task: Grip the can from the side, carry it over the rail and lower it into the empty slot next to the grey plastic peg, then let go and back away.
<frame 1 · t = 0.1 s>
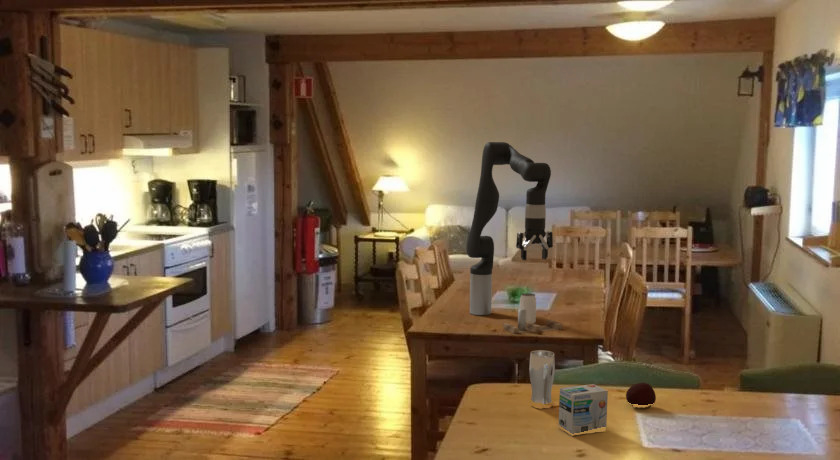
hand: (534, 259, 315), 29 cm above the table, tool pointing down, fingers open, 8 cm apart
rail: (532, 331, 326), on the table
light bulb box: (582, 431, 215), on the table
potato: (640, 408, 233), on the table
grey peg: (521, 329, 324), point 1 cm above the table, touching rail
beer glass: (541, 406, 234), on the table
can: (527, 324, 339), on the table
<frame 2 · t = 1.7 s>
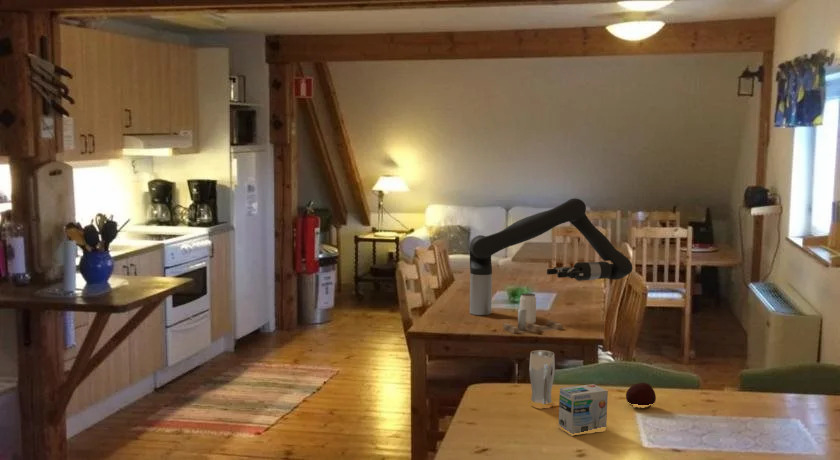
hand: (552, 273, 341), 20 cm above the table, tool horizontal, fingers open, 8 cm apart
nothing on the table moved.
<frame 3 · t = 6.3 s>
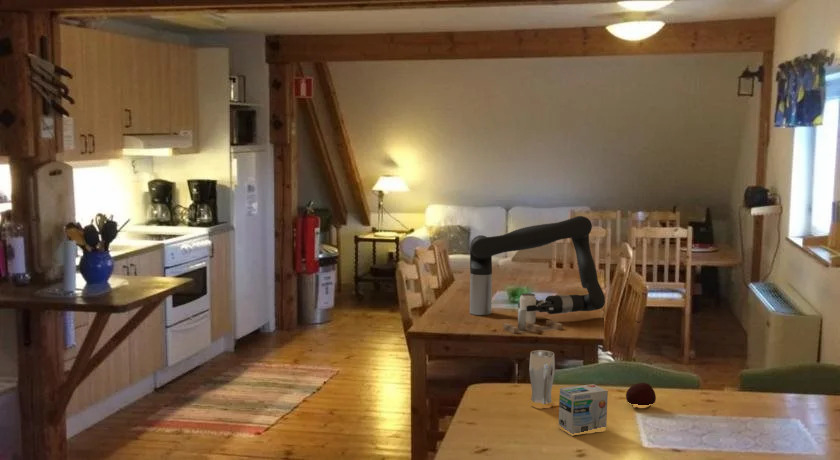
hand: (522, 307, 338), 7 cm above the table, tool horizontal, fingers closed on can, 6 cm apart
can: (527, 324, 339), on the table, touching gripper
everything else where it was.
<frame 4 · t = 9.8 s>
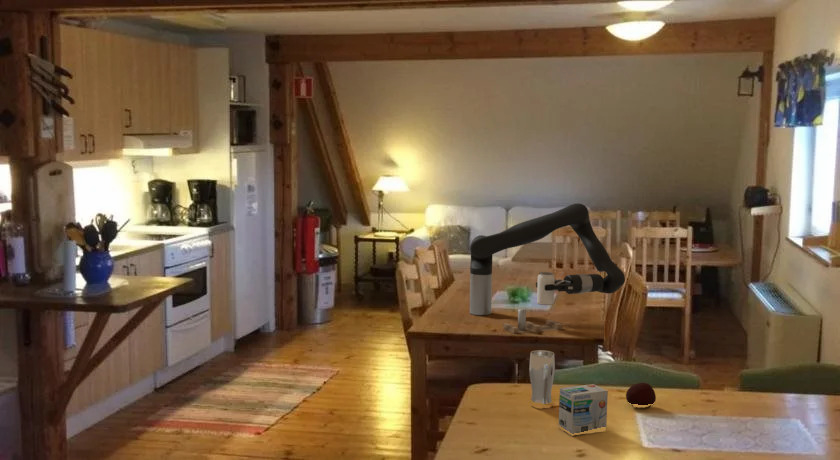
hand: (540, 286, 325), 18 cm above the table, tool horizontal, fingers closed on can, 6 cm apart
can: (545, 304, 327), point 10 cm above the table, touching gripper
everything else where it was.
when the fingers open (9 cm above the table, at t = 13.0 s): can stays where it is, resting on rail.
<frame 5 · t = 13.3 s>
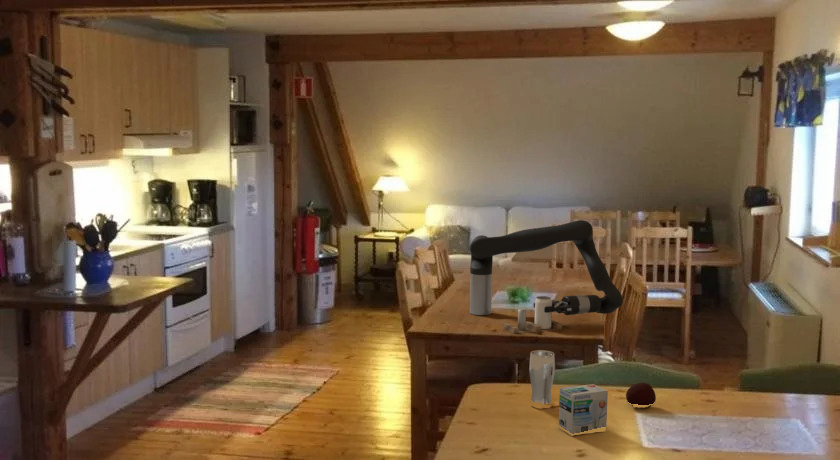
hand: (539, 307, 326), 9 cm above the table, tool horizontal, fingers open, 8 cm apart
can: (542, 328, 328), point 1 cm above the table, touching rail
everything else where it was.
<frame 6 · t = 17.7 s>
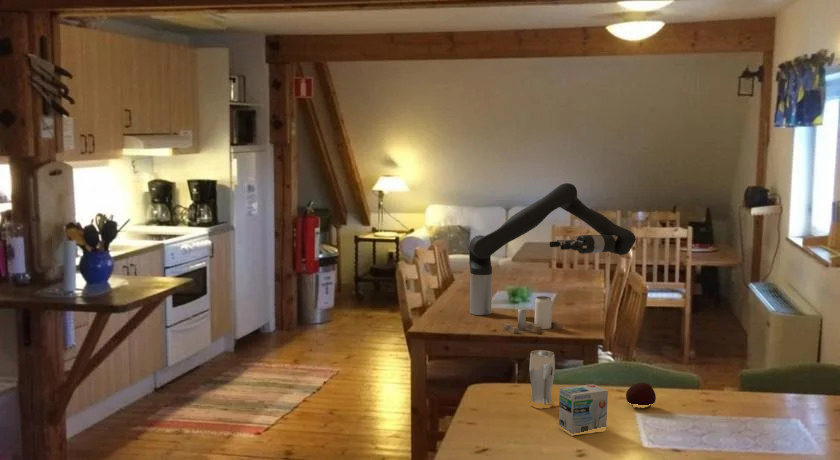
hand: (555, 245, 335), 32 cm above the table, tool horizontal, fingers open, 8 cm apart
nothing on the table moved.
at the end: can 0.4 cm from the target spot on the rail, point 0.8 cm above the rail's base; can tilted 0°; the gripper is holding nothing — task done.
